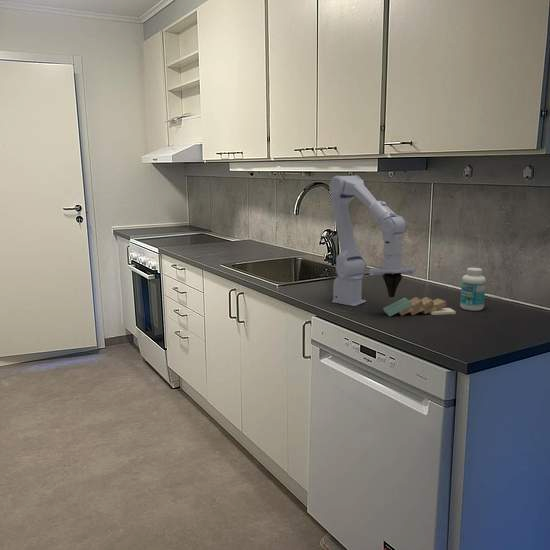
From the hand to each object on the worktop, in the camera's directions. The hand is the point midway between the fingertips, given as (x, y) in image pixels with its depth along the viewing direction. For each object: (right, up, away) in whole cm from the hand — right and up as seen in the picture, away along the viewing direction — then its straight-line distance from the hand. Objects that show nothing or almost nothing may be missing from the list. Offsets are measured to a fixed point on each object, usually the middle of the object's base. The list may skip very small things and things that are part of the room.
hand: (391, 296), depth 170 cm
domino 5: (+13, -5, +2) cm, 14 cm away
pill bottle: (+28, -4, +7) cm, 30 cm away
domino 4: (+10, -5, +2) cm, 11 cm away
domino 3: (+6, -5, +2) cm, 8 cm away
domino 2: (+2, -5, +1) cm, 6 cm away
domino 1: (-2, -5, +1) cm, 5 cm away
